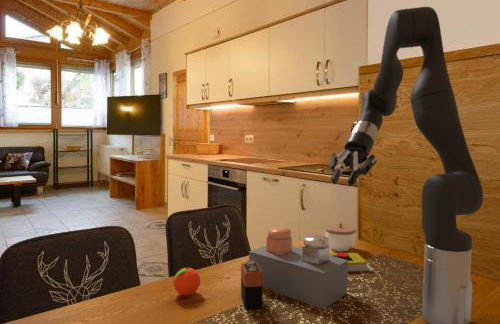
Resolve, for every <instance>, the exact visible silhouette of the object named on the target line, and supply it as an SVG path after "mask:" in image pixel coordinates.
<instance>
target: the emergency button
mask: <svg viewBox="0 0 500 324" xmlns="http://www.w3.org/2000/svg"><path fill="white" fill-rule="evenodd" d="M329 256H333V257H337V258H341V259H345V260H348V273H349V272H371V271H374V268H373V267H372V266H370V265H369V264H368V263H367V260H365V258H364V257H362V256H361V255H360V254H359V253H357V252H344V251H339V252H336V253H329Z"/></svg>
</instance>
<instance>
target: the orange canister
mask: <svg viewBox="0 0 500 324" xmlns="http://www.w3.org/2000/svg"><path fill="white" fill-rule="evenodd" d="M291 232H292V230H291V229H290V228H287V227H284V226H283V227H281V226H280V227H279V226H275V227H274V226H273V227H270V228H268V229H267V237H266V245H267V252H270V253H273V254H277V255H284V254H286V253H289V252H291V251H292V246H293V245H292V244H293V239H292V238H293V236H292V233H291Z"/></svg>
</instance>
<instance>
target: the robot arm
mask: <svg viewBox="0 0 500 324" xmlns="http://www.w3.org/2000/svg"><path fill="white" fill-rule="evenodd" d="M383 41H384V42H383V48H382V53H381V59H380V60H381V61H380V66H379V69H378V73H377V75H376V77H375V81H374V83H373V86H372V87H373V88H372V89H368V90H367V91H366V92H365V93H364V94H363V97H362V101H361V112H360V115H359V118H358V120H357V122H356V124H355V125H354V127H353V128H352V131H351V132H350V134H349V136H348V139H347V141H346V142H345V145H344V149H343V150H342V151H341V152H340V153H336V152H331V157H330V163H329V168H330V170H331V171H332V174H331V177H330V180H331V182H332V184H334V185H337V183H338V181H339V180H340V177H341V175H342V174H343V172H344V171H346V170H347V169H348V168H349V167H353V170H352V171H351V172H350V174H349V177H348V179H347V183H348V185H349V186H353V185H355V184H356V183H357V180H358V179H359V177H360V176H361V175H363V176H366V175H367V174H368V173H369V172H370V171H371V169H372V168H373V167H374V166H375V164H376V163H377V161H378V160H377V158H376V156H375V154H371V152H372V150H373V147H374V145H375V143H376V140H377V137H378V135H379V132H380V129H381V126H382V124H383V121H384V118H383V117H389V116H391V115H392V114H394V112H395V110H396V107H397V97H398V96H397V93H398V90H399V87H400V85H401V83H402V81H403V79H404V78H403V77H404V67H403V65H402V63H401V61H400V59H399V57H398V52H399V50H400V49H406V48H407V49H408V48H415V47H417V48H418V47H420V48H421V50H422V56H423V57H422V58H423V59H422V60H423V61H422V62H423V63H422V65H421V69H420V71H419V73H418V76H417V78H416V79H415V82H414V84H413V86H412V89H411V93H410V106H411V109H412V114H413V118H414V123H415V125H416V127H417V128H418V130H419V132H420V133H421V134H422V136H424V138H425V139H426V140H427V141H428V143H429V144H430V145H431V147H432V148H434V150H435V151H436V154H438V156H439V159H440V161H441V163H442V167H443V171H444V173H440V174H439V173H436V174H432V175H430V176H428V177H427V179H426V180H425V181H424V184H423V186H422V190H421V226H422V227H421V228H422V232H423V234H424V256H423V259H424V261H423V282H422V284H423V285H422V286H423V287H422V307H421V309H422V310H421V313H422V314H421V315H422V316H421V317H422V318H423V319H424V321H426V322H427V323H428V324H470V323H471V320H472V319H471V318H472V315H471V314H472V299H473V280H472V279H471V267H472V266H471V265H472V248H473V247H472V246H473V238H472V236H471V234H470V233H468V232H466V231H464V230H460V229H458V226H457V216H465V215H466V216H467V215H471V214H475V213H477V212H478V211H479V210H480V209H481V207H482V205H483V201H484V190H483V186H482V183H481V181H480V180H481V179H480V178H479V175H478V172H477V170H476V167H475V164H474V161H473V159H472V157H471V154H470V151H469V147H468V144H467V141H466V137H465V134H464V130H463V127H462V123H461V120H460V116H459V115H460V114H459V110H458V106H457V101H456V98H455V95H454V91H453V87H452V84H451V80H450V76H449V72H448V68H447V63H446V58H445V53H444V46H443V45H444V44H443V39H442V32H441V24H440V20H439V15H438V14H437V12H436V9H434V8H433V7H431V6H421V7H412V8H411V7H410V8H401V9H398V10H395V11H394V12H393V13H392V14H390V16H389V19H388V22H387V26H386V30H385V35H384V40H383Z"/></svg>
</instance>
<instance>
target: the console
mask: <svg viewBox="0 0 500 324" xmlns="http://www.w3.org/2000/svg"><path fill="white" fill-rule="evenodd" d="M250 260H252V261H254V263H257V264H258V265H259V267H260V269H261V271H262V273H263V280H262V289H266V290H268V291H272V292H274V293H277V294H279V295H282V296H285V297H288V298H290V299H293V300H296V301H299V302H302V303H303V304H307V305H310V306H313V307H315V308H318V309H320V310H325V309H326V308H328V307H329V306H331V305H332V304H335V302H336V301H338V300H340V299H341V298H343V297H344V296H346V295H347V294H348V278H349V277H348V273H349V272H348V260H345V259H341V258H337V257H333V256H329V262H327V263H325V264H323V265H321V266H317V265H313V264H310V263H306V262H302V248H301V247H296V246H293V245H292V251H291V252H289V253H286V254H284V255H277V254H273V253H270V252H267V244H265V245H264V246H260V247H257V248H255V249H252V250H250V251H248V261H250Z"/></svg>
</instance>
